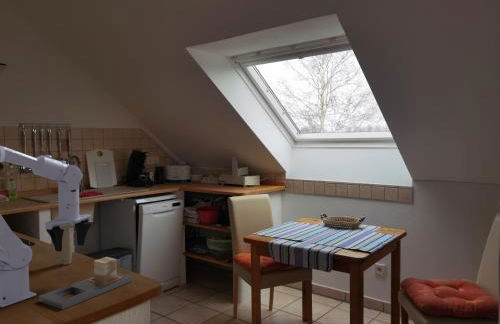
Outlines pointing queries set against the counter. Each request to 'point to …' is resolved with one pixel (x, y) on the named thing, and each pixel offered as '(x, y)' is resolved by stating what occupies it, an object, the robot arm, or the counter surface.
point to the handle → (66, 245)
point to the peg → (105, 270)
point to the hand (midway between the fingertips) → (69, 248)
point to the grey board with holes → (82, 291)
